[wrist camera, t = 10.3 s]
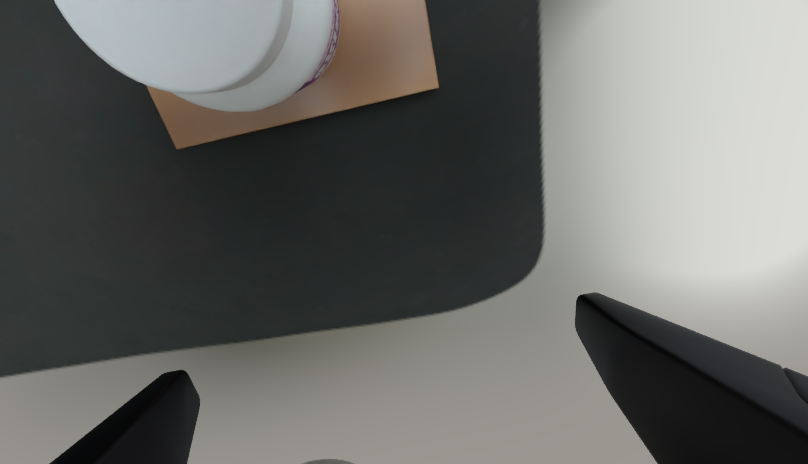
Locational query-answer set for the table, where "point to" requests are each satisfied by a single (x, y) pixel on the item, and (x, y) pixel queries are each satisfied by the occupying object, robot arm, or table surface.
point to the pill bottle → (212, 45)
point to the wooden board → (329, 75)
